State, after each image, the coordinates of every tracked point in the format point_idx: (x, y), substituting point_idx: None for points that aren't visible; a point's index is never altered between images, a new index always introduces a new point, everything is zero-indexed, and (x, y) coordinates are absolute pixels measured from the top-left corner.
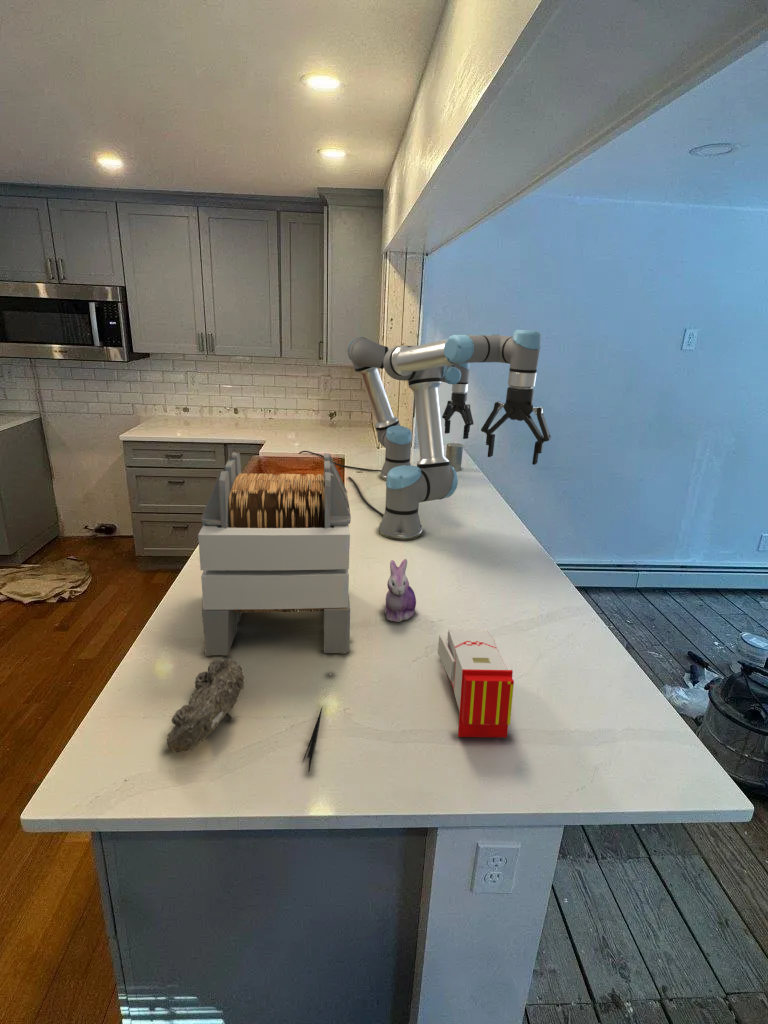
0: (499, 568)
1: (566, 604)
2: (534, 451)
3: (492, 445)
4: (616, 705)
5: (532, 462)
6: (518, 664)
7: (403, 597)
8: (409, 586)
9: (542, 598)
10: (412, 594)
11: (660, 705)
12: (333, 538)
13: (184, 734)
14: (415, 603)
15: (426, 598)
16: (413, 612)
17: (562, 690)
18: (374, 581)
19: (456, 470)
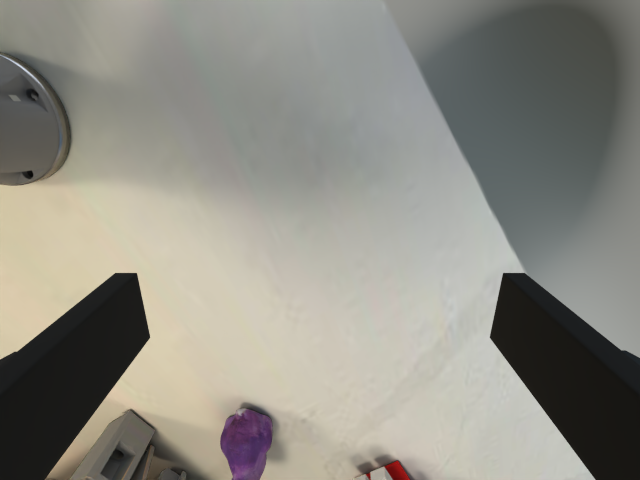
0: (328, 187)
1: (489, 267)
2: (560, 423)
3: (85, 375)
4: (556, 457)
5: (497, 346)
6: (440, 445)
7: (260, 476)
8: (250, 451)
9: (443, 269)
10: (262, 449)
11: None
12: None
13: None
14: (270, 437)
15: (262, 373)
16: (271, 425)
17: (496, 461)
18: (156, 369)
19: None
